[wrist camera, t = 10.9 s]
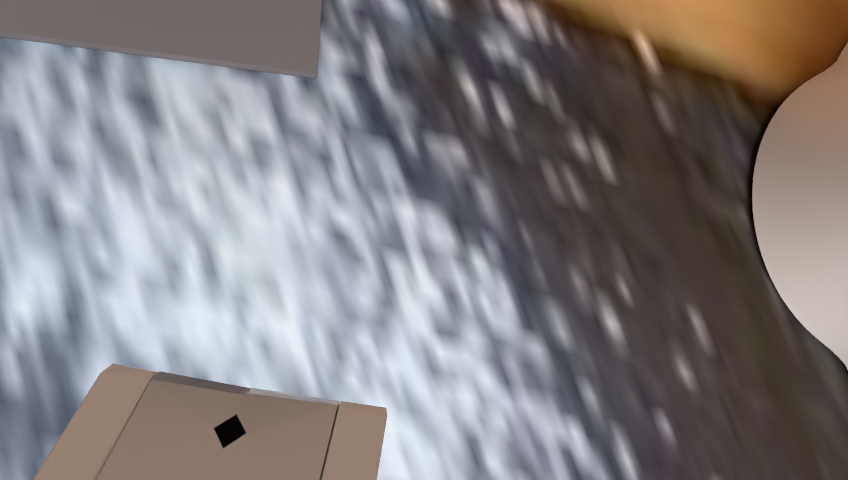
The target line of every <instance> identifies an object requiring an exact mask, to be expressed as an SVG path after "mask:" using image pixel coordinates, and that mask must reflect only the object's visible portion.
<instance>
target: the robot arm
mask: <svg viewBox="0 0 848 480" xmlns="http://www.w3.org/2000/svg"><path fill="white" fill-rule="evenodd" d="M752 206H753V218H754V225H755V231H756V236H757V240H758V244H759V248H760V251H761V255H762V258H763V260H764V263H765V266H766V268H767V271H768V273H769V275H770V277H771V280H772V281H773V283H774V285H775V287H776V289H777V291H778V293H779V294H780V296H781V298H782V299H783V301H784V302H785V304H786V305H787V306H788V308H789V309H790V311H791V312H792V313H793V314H794V316H795V317H796V318H797V319H798V320H799V321H800V323H801V324H802V325H803V326H804V327H805V328H806V329H807V330H808V331H809V332H810V333H811V334H812V335H814V336H815V337H816V338H817V339H818V340H820V341H821V342H822V343H823V344H824V345H825V346H827V347H828V348H829V349H830V350H831V351H833V352H834V353H835V354H836V355H837V356H838V357H839V358H840V359H841V361H842V362H843V363H844V364H845V366H846V368H847V369H848V42H847V44H846V46H845V47H844V49H843V50H842V52H841V54H840V56H839V57H838V59H837V61H836V62H835V63H834V64H833V65H832V66H830V67H829V68H828V69H826V70H825V71H823V72H822V73H820V74H818V75H817V76H815V77H813V78H812V79H810V80H808V81H807V82H805V83H804V84H802V85H801V86H800V87H798V88H797V89H796V90H795V91H794V92H793V93H792V94H791V95H790V96H789V97H788V98H787V99H786V100H785V101H784V102H783V104H782V105H781V106H780V107H779V109H778V110H777V112H776V113H775V115H774V116H773V118H772V120H771V121H770V123H769V125H768V127H767V129H766V131H765V133H764V136H763V139H762V141H761V144H760V147H759V151H758V154H757V158H756V163H755V168H754V175H753V186H752ZM386 419H387V410H386V408H383V407H376V406H370V405H363V404H356V403H350V402H343V401H341V404H340V401H335V400H329V399H322V398H315V397H309V396H302V395H295V394H289V393H282V392H276V391H269V390H262V389H256V388H246V387H240V386H235V385H230V384H224V383H219V382H213V381H208V380H203V379H197V378H192V377H187V376H181V375H176V374H170V373H165V372H154V371H149V370H143V369H138V368H133V367H128V366H123V365H117V364H112V365H111V366H109V367H108V368H107V369H105V370H104V371H103V372H102V373H100V375H99V376H98V378H97V380H96V381H95V383H94V384H93V386H92V387H91V389H90V391H89V392H88V394H87V395H86V397H85V398H84V400H83V402H82V403H81V405H80V406H79V408H78V409H77V411H76V413H75V414H74V416H73V417H72V419H71V420H70V422H69V424H68V425H67V427H66V428H65V430H64V431H63V433H62V435H61V436H60V438H59V439H58V441H57V442H56V444H55V446H54V447H53V449H52V450H51V452H50V453H49V455H48V457H47V458H46V460H45V461H44V463H43V464H42V466H41V468H40V469H39V471H38V472H37V474H36V475H35V477H34V479H33V480H377V474H378V468H379V462H380V456H381V450H382V444H383V437H384V431H385V425H386Z"/></svg>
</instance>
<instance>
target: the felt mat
mask: <svg viewBox="0 0 848 480" xmlns="http://www.w3.org/2000/svg"><path fill="white" fill-rule="evenodd" d="M321 7H322V0H0V37H5V38H13V39H20V40H28V41H36V42H43V43H51V44H58V45H66V46H73V47H81V48H88V49H96V50H104V51H111V52H119V53H126V54H134V55H141V56H149V57H156V58H164V59H172V60H179V61H187V62H194V63H202V64H209V65H217V66H225V67H232V68H240V69H247V70H255V71H262V72H270V73H277V74H285V75H293V76H300V77H308V78H315V77H316V75H317V65H318V51H319V36H320V22H321Z"/></svg>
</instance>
